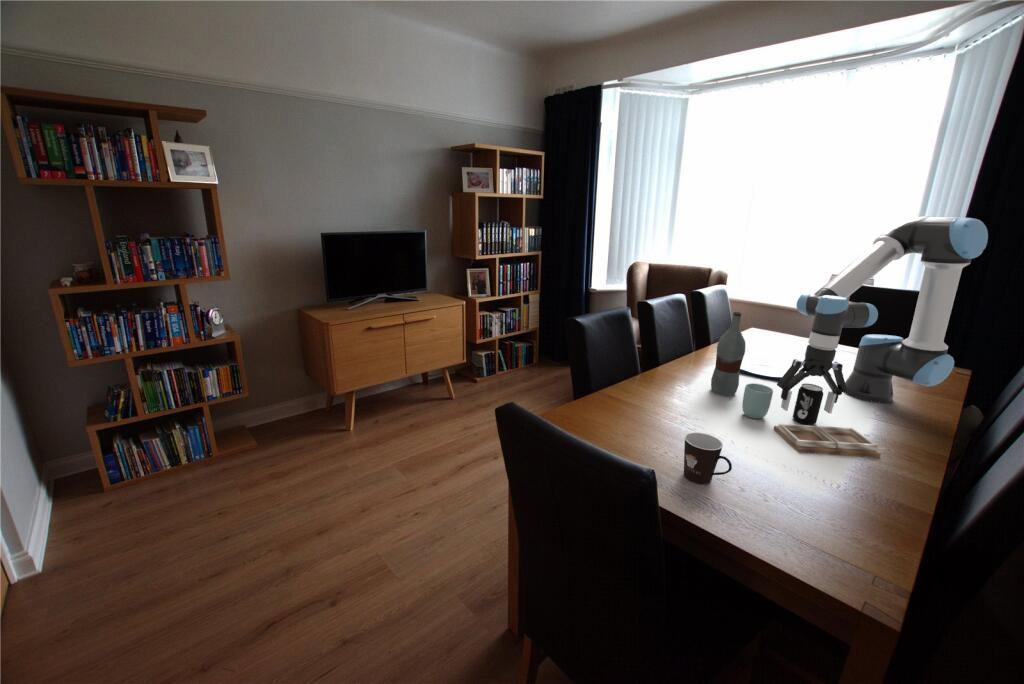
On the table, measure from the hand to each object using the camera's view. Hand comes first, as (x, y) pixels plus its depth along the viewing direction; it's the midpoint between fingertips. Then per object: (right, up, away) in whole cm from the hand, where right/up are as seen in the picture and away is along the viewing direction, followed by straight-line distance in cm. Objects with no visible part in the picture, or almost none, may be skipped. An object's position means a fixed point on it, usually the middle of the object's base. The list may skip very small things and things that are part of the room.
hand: (805, 410), depth 145 cm
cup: (-15, -3, +4) cm, 15 cm away
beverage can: (0, -4, +1) cm, 4 cm away
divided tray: (-3, -8, -12) cm, 15 cm away
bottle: (-16, +3, +23) cm, 28 cm away
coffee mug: (-48, -12, -34) cm, 60 cm away
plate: (+12, +9, +47) cm, 49 cm away
